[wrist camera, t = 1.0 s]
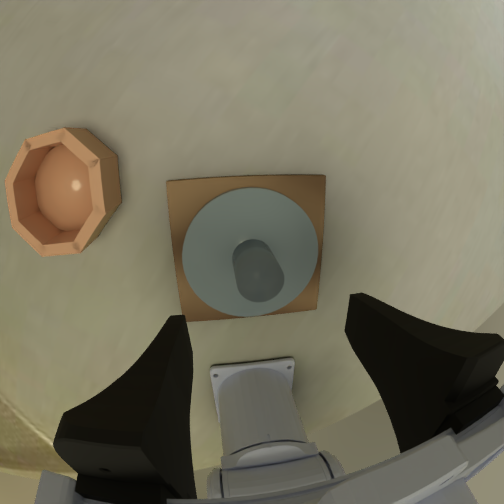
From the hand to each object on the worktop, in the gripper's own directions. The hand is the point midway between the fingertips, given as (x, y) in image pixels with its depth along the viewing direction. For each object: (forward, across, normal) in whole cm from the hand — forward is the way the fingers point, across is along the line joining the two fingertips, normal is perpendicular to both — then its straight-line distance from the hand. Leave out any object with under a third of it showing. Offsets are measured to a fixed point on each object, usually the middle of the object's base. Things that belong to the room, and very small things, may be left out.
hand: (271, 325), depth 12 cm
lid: (+9, 0, 0) cm, 9 cm away
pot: (+10, +12, -6) cm, 17 cm away
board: (+10, 0, 0) cm, 10 cm away
